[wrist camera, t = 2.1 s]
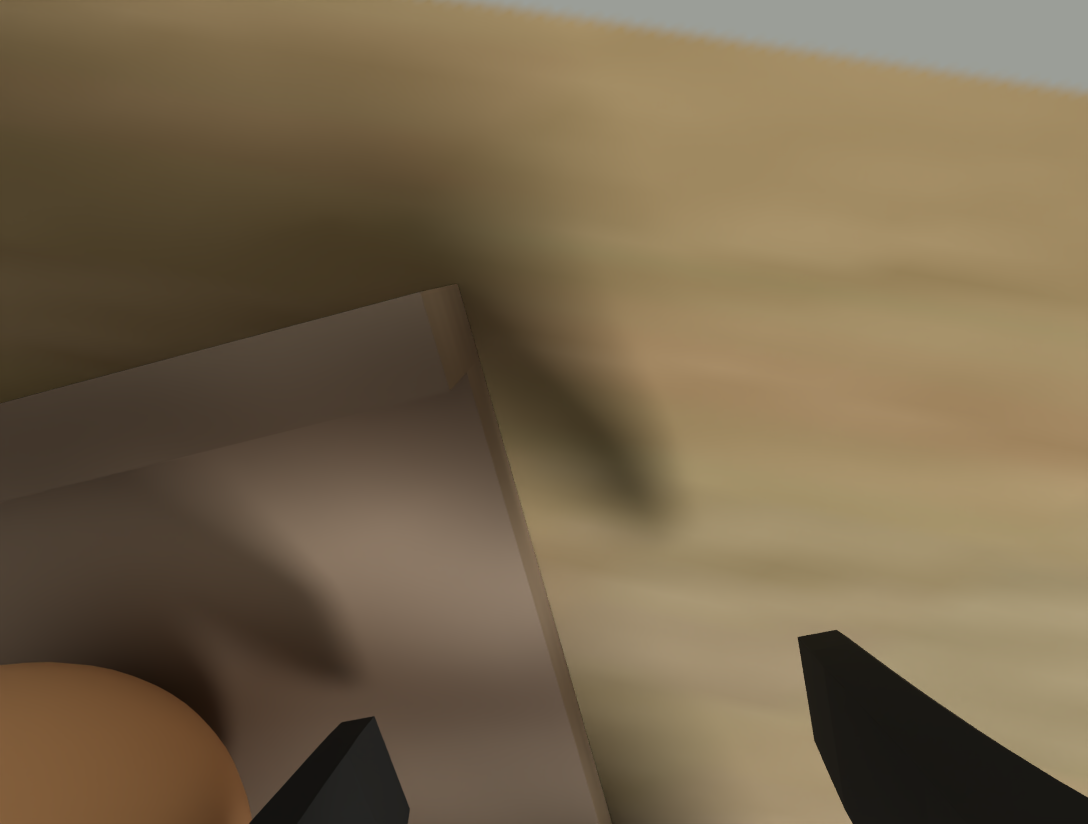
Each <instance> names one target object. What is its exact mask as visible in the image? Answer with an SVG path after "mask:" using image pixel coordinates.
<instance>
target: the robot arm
mask: <svg viewBox="0 0 1088 824" xmlns="http://www.w3.org/2000/svg"><path fill="white" fill-rule="evenodd" d="M798 642H799V648H800V654H801V661H802V667H803V673H804V679H805V685H806V691H807V698H808V704H809V710H810V716H811V722H812V728H813V735H814V741H815V743H816V745H817V748H818V750H819V752H820V754H821V757H822V759H823V761H824V764H825V766H826V768H827V770H828V773H829V775H830V777H831V780H832V782H833V784H834V786H835V788H836V791H837V793H838V795H839V797H840V800H841V802H842V804H843V806H844V808H845V810H846V812H847V814H848V816H849V818H850V819H851V821H852V823H853V824H1088V797H1086V796H1084V795H1082V794H1081V793H1079V792H1077V791H1076V790H1074V789H1072V788H1070V787H1069V786H1067V785H1065V784H1063V783H1062V782H1060V781H1058V780H1057V779H1055V778H1053V777H1052V776H1050V775H1048V774H1047V773H1045V772H1044V771H1042V770H1040V769H1039V768H1037V767H1036V766H1034V765H1032V764H1031V763H1029V762H1027V761H1026V760H1024V759H1023V758H1021V757H1019V756H1018V755H1016V754H1015V753H1013V752H1011V751H1010V750H1008V749H1007V748H1005V747H1003V746H1002V745H1000V744H999V743H997V742H996V741H994V740H993V739H991V738H990V737H988V736H987V735H985V734H983V733H982V732H980V731H979V730H977V729H976V728H974V727H973V726H971V725H970V724H968V723H967V722H965V721H964V720H963V719H961V718H960V717H958V716H957V715H955V714H954V713H952V712H951V711H949V710H948V709H946V708H945V707H943V706H942V705H940V704H939V703H937V702H936V701H935V700H933V699H932V698H930V697H929V696H927V695H926V694H924V693H923V692H922V691H920V690H919V689H917V688H916V687H915V686H913V685H912V684H910V683H909V682H908V681H906V680H905V679H903V678H902V677H901V676H899V675H898V674H897V673H895V672H894V671H892V670H891V669H890V668H888V667H887V666H886V665H884V664H883V663H881V662H880V661H879V660H877V659H876V658H875V657H873V656H872V655H871V654H869V653H868V652H867V651H865V650H864V649H863V648H861V647H860V646H858V645H857V644H856V643H854V642H853V641H852V640H850V639H849V638H848V637H846V636H845V635H843V634H842V633H840V632H839V631H837V630H833V631H828V632H822V633H817V634H812V635H806V636H801V637H798ZM409 812H410V808H409V805H408V803H407V800H406V797H405V795H404V792H403V789H402V787H401V784H400V782H399V779H398V776H397V774H396V771H395V769H394V766H393V763H392V761H391V758H390V755H389V753H388V750H387V748H386V745H385V742H384V740H383V737H382V735H381V732H380V729H379V727H378V724H377V721H376V719H375V716H372V717H367V718H361V719H356V720H351V721H345V722H341V723H340V724H339V725H338V726H337V727H336V728H335V729H334V730H333V731H332V732H331V733H330V734H329V735H328V736H327V737H326V739H325V740H324V741H323V742H322V743H321V744H320V745H319V746H318V747H317V748H316V749H315V750H314V752H313V753H312V754H311V755H310V756H309V757H308V758H307V759H306V760H305V762H304V763H303V764H302V765H301V766H300V767H299V768H298V769H297V770H296V772H295V773H294V774H293V775H292V776H291V777H290V778H289V779H288V781H287V782H286V783H285V784H284V785H283V786H282V787H281V788H280V790H279V791H278V792H277V793H276V794H275V795H274V796H273V797H272V798H271V799H270V801H269V802H268V803H267V804H266V805H265V806H264V807H263V808H262V809H261V811H260V812H259V813H258V814H257V815H256V816H255V817H254V818H253V819H252V820H251V822H250V823H249V824H408V819H409Z"/></svg>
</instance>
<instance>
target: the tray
mask: <svg viewBox="0 0 1088 824" xmlns="http://www.w3.org/2000/svg"><path fill="white" fill-rule="evenodd" d="M32 662H56V663H69V664H81V665H92V666H97V667H102V668H107V669H112V670H116V671H119V672H122V673H125V674H129V675H132V676H134V677H137V678H140V679H142V680H144V681H147V682H149V683H151V684H154V685H156V686H158V687H160V688H162V689H164V690H165V691H167V692H169V693H171V694H173V695H174V696H175V697H177V698H178V699H180V700H181V701H183V702H184V703H186V704H187V705H188V706H189V707H190V708H191V709H193V710H194V711H195V712H196V713H197V714H198V715H199V716H200V717H201V718H202V719H203V720H204V721H205V722H206V723H207V724H208V725H209V726H210V728H211V729H212V730H213V731H214V732H215V733H216V735H217V736H218V737H219V739H220V740H221V742H222V743H223V744H224V746H225V747H226V749H227V750H228V752H229V754H230V756H231V758H232V759H233V761H234V763H235V766H236V768H237V771H238V773H239V776H240V778H241V781H242V784H243V786H244V789H245V792H246V795H247V798H248V803H249V807H250V811H251V817H252V819H253V818H254V817H255V816H256V815H257V814H258V813H259V812H260V811H261V809H262V808H263V807H264V806H265V805H266V804H267V803H268V802H269V801H270V799H271V798H272V797H273V796H274V795H275V794H276V793H277V792H278V791H279V790H280V788H281V787H282V786H283V785H284V784H285V783H286V782H287V781H288V779H289V778H290V777H291V776H292V775H293V774H294V773H295V772H296V770H297V769H298V768H299V767H300V766H301V765H302V764H303V763H304V762H305V760H306V759H307V758H308V757H309V756H310V755H311V754H312V753H313V752H314V750H315V749H316V748H317V747H318V746H319V745H320V744H321V743H322V742H323V741H324V740H325V739H326V737H327V736H328V735H329V734H330V733H331V732H332V731H333V730H334V729H335V728H336V727H337V726H338V725H339V724H340V723H341V722H345V721H351V720H356V719H361V718H367V717H372V716H375V719H376V721H377V724H378V727H379V729H380V732H381V735H382V737H383V740H384V742H385V745H386V748H387V750H388V753H389V755H390V758H391V761H392V763H393V766H394V769H395V771H396V774H397V776H398V779H399V782H400V784H401V787H402V789H403V792H404V795H405V797H406V800H407V803H408V805H409V808H410V812H409V819H408V824H612V821H611V818H610V814H609V811H608V807H607V804H606V800H605V797H604V793H603V790H602V786H601V783H600V779H599V776H598V772H597V769H596V765H595V762H594V758H593V755H592V751H591V748H590V744H589V741H588V737H587V734H586V730H585V727H584V723H583V720H582V716H581V713H580V709H579V706H578V702H577V699H576V695H575V692H574V688H573V685H572V681H571V678H570V674H569V671H568V667H567V664H566V660H565V657H564V653H563V650H562V646H561V643H560V639H559V636H558V632H557V629H556V625H555V622H554V618H553V615H552V612H551V608H550V605H549V601H548V598H547V594H546V591H545V587H544V584H543V580H542V577H541V573H540V570H539V566H538V563H537V559H536V556H535V552H534V549H533V545H532V542H531V538H530V535H529V531H528V528H527V524H526V521H525V517H524V514H523V510H522V507H521V503H520V500H519V496H518V493H517V489H516V486H515V482H514V479H513V475H512V472H511V468H510V465H509V461H508V458H507V454H506V451H505V447H504V444H503V440H502V437H501V433H500V430H499V426H498V423H497V419H496V416H495V412H494V409H493V405H492V402H491V398H490V395H489V391H488V388H487V384H486V381H485V377H484V374H483V370H482V367H481V363H480V360H479V356H478V353H477V349H476V346H475V342H474V339H473V335H472V332H471V328H470V325H469V321H468V318H467V314H466V311H465V307H464V304H463V300H462V297H461V293H460V290H459V286H458V284H454V285H449V286H445V287H440V288H435V289H431V290H426V291H421V292H417V293H414V294H410V295H406V296H402V297H399V298H395V299H391V300H387V301H384V302H380V303H376V304H372V305H369V306H365V307H361V308H357V309H353V310H350V311H346V312H342V313H338V314H335V315H331V316H327V317H323V318H320V319H316V320H312V321H308V322H305V323H301V324H297V325H293V326H290V327H286V328H282V329H278V330H274V331H271V332H267V333H263V334H259V335H256V336H252V337H248V338H244V339H241V340H237V341H233V342H229V343H226V344H222V345H218V346H214V347H210V348H207V349H203V350H199V351H195V352H192V353H188V354H184V355H180V356H177V357H173V358H169V359H165V360H162V361H158V362H154V363H150V364H147V365H143V366H139V367H135V368H131V369H128V370H124V371H120V372H116V373H113V374H109V375H105V376H101V377H98V378H94V379H90V380H86V381H83V382H79V383H75V384H71V385H68V386H64V387H60V388H56V389H52V390H49V391H45V392H41V393H37V394H34V395H30V396H26V397H22V398H19V399H15V400H11V401H7V402H4V403H0V665H7V664H18V663H32Z"/></svg>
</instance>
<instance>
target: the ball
mask: <svg viewBox="0 0 1088 824" xmlns="http://www.w3.org/2000/svg"><path fill="white" fill-rule="evenodd" d="M251 820H252V817H251V811H250V807H249V803H248V798H247V795H246V792H245V789H244V786H243V784H242V781H241V778H240V776H239V773H238V771H237V768H236V766H235V763H234V761H233V759H232V758H231V756H230V754H229V752H228V750H227V749H226V747H225V746H224V744H223V743H222V742H221V740H220V739H219V737H218V736H217V735H216V733H215V732H214V731H213V730H212V729H211V728H210V726H209V725H208V724H207V723H206V722H205V721H204V720H203V719H202V718H201V717H200V716H199V715H198V714H197V713H196V712H195V711H194V710H193V709H191V708H190V707H189V706H188V705H187V704H186V703H184V702H183V701H181V700H180V699H178V698H177V697H175V696H174V695H173V694H171V693H169V692H167V691H165V690H164V689H162V688H160V687H158V686H156V685H154V684H151V683H149V682H147V681H144V680H142V679H140V678H137V677H134V676H132V675H129V674H125V673H122V672H119V671H116V670H112V669H107V668H102V667H97V666H92V665H81V664H69V663H56V662H32V663H18V664H7V665H0V824H249V823H250V822H251Z"/></svg>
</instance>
